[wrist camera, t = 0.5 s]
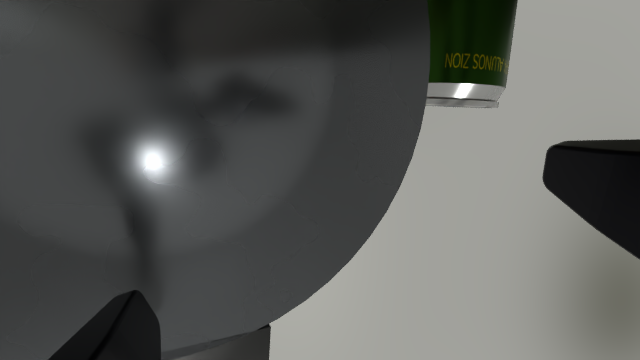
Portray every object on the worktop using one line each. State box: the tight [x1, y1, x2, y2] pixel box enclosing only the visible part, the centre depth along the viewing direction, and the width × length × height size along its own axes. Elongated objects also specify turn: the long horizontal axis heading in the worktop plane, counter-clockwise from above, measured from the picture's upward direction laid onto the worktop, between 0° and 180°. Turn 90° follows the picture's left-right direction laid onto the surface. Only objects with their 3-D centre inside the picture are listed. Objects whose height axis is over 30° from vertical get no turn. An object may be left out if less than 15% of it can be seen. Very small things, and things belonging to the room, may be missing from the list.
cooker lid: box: [0, 0, 430, 360], centre depth 7 cm, size 14×11×1 cm
